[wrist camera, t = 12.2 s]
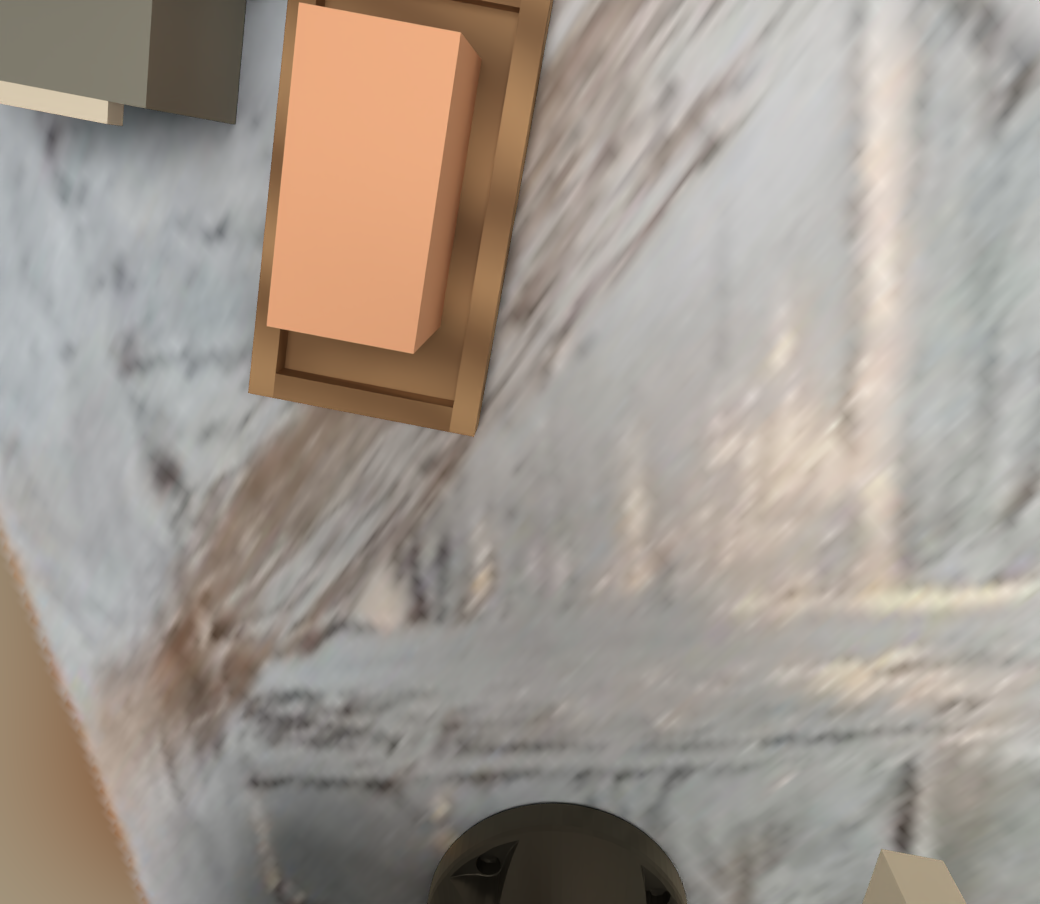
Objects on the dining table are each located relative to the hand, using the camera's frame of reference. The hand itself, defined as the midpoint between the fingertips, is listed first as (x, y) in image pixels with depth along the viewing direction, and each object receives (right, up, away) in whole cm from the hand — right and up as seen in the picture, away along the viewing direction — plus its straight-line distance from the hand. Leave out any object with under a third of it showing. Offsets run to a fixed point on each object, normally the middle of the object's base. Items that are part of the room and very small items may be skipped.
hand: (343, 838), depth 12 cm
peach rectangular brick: (-3, +17, +31) cm, 35 cm away
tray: (-3, +17, +32) cm, 36 cm away
